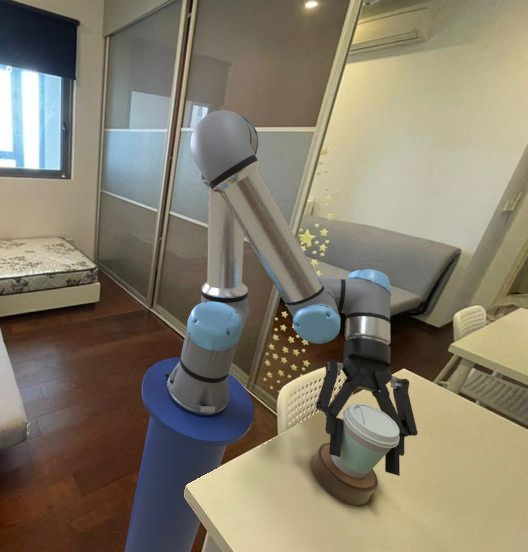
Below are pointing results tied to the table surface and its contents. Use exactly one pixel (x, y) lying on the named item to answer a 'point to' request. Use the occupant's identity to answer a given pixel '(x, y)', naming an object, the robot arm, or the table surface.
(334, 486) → the cup stand
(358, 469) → the coffee cup
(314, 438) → the table surface
